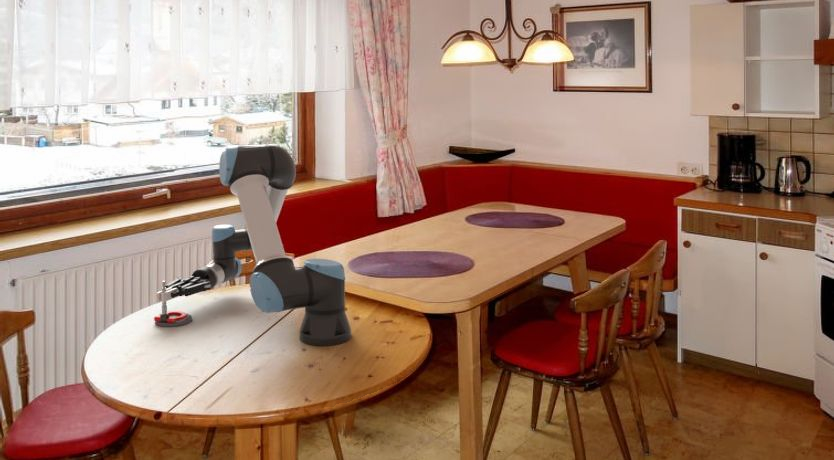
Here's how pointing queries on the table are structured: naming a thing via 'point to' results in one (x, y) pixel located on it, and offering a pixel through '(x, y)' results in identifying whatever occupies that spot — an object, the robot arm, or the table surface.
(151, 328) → the table surface
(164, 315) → the tow hook
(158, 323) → the plate
